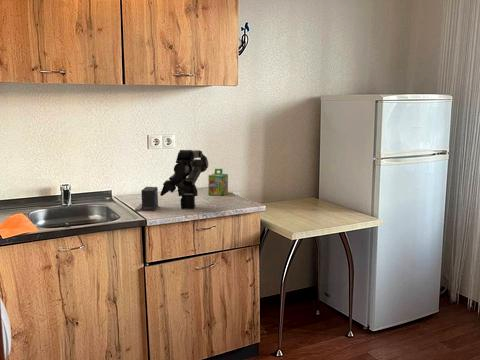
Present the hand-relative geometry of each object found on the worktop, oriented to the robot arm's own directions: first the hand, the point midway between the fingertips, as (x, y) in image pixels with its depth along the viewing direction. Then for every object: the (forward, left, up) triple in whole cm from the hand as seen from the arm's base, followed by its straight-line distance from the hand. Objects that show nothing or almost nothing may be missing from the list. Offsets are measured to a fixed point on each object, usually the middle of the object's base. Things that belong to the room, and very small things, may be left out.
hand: (160, 195), depth 234 cm
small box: (+6, 0, -7) cm, 9 cm away
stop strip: (+11, 0, -7) cm, 13 cm away
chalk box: (-26, -36, -7) cm, 45 cm away
